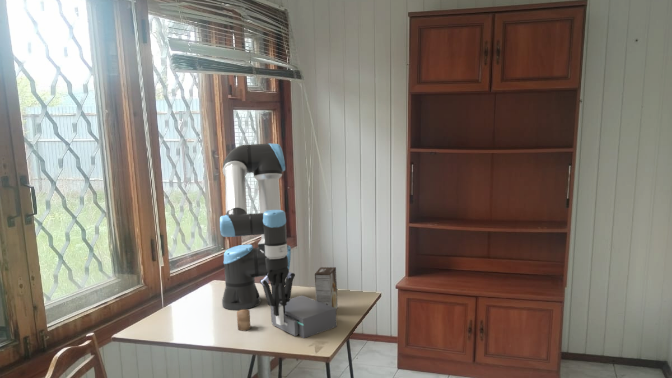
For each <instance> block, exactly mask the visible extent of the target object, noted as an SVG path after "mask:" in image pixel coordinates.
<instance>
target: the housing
mask: <svg viewBox="0 0 672 378" xmlns="http://www.w3.org/2000/svg"><path fill="white" fill-rule="evenodd" d="M279 304H280V303H279ZM272 311H274V310H273V306H270V317H271V318H270V319H271V320H270V321H271V322H272ZM284 315H286V316H290V317H292V318H295V319H297V320H299V322H298V321H297V323H298V324H299V334H298V336H299V337H301V338H303V339H305V338H308V337H311V336H314V335H317V334H320V333H323V332H325V331H328V330H331V329H333V328H337V309H336V308H334V307H331V306H329V305H326V304H324V303H321V302H318V301H316V299H313V298H310V297H308V296H305V295H303V294H302V295H298V296H295V297H292V298H291V297H290V301H289V302H287V305H286V306H285V314H284Z"/></svg>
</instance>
